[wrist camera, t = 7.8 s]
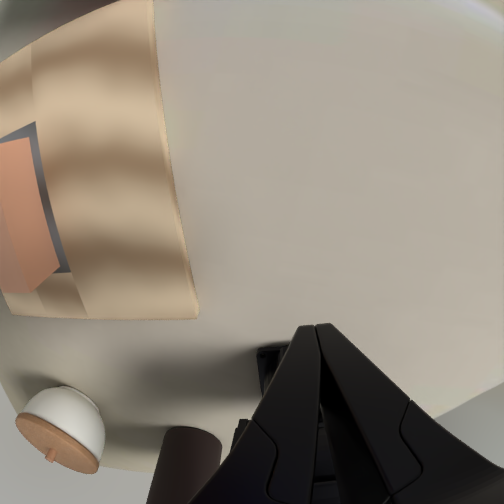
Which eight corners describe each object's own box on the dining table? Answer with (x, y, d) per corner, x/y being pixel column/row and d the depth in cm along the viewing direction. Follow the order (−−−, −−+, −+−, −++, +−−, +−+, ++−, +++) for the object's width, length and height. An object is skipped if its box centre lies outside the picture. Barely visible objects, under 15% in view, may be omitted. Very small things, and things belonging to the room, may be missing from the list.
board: (199, 309, 22) (196, 319, 21) (18, 308, 24) (12, 314, 23) (152, -3, 13) (146, -9, 12) (-34, 95, 15) (-42, 96, 14)
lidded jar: (108, 437, 32) (87, 491, 24) (42, 397, 31) (13, 446, 22) (125, 406, 28) (98, 474, 20) (44, 356, 27) (3, 415, 18)
